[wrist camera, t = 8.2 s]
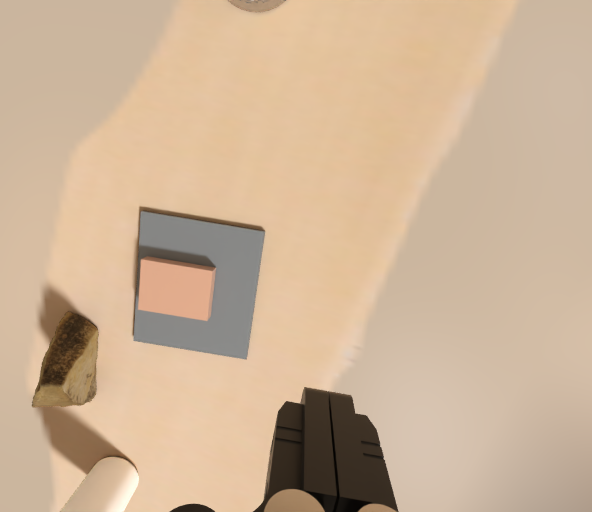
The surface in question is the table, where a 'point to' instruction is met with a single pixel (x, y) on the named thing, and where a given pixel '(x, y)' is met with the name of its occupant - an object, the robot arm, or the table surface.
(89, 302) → the table surface
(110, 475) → the can
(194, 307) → the tile
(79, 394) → the rock
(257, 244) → the mat
